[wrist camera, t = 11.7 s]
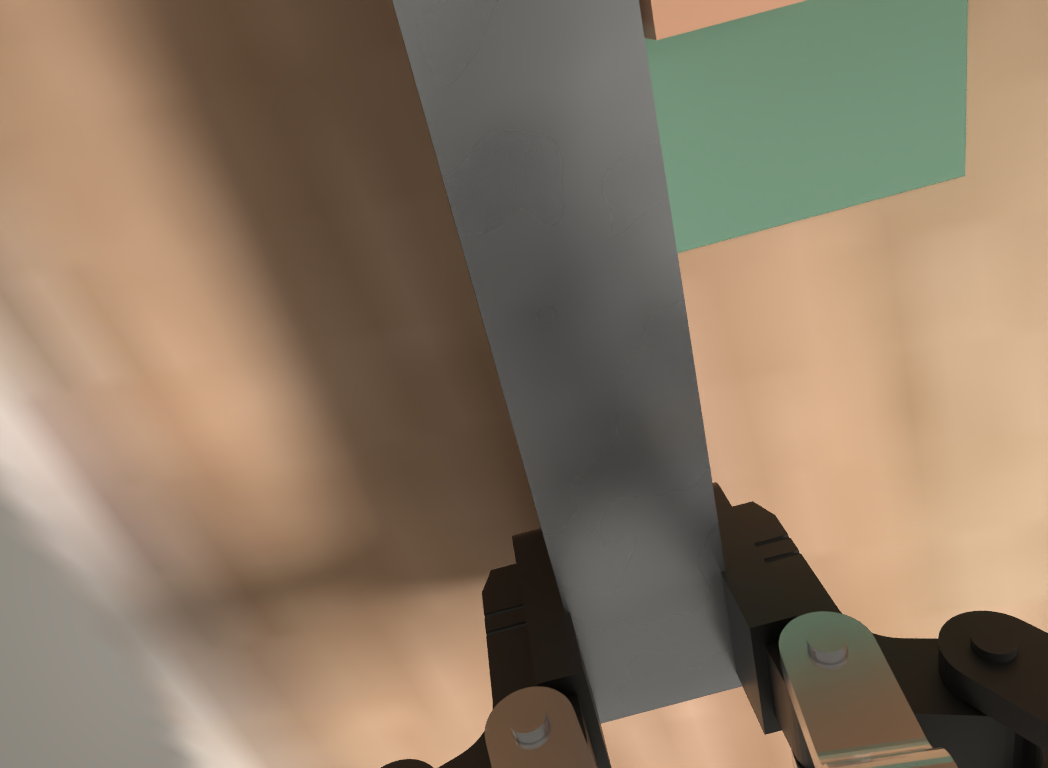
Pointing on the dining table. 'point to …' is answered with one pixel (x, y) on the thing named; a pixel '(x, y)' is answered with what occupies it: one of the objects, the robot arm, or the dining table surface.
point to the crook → (585, 323)
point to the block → (697, 14)
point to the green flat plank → (808, 111)
